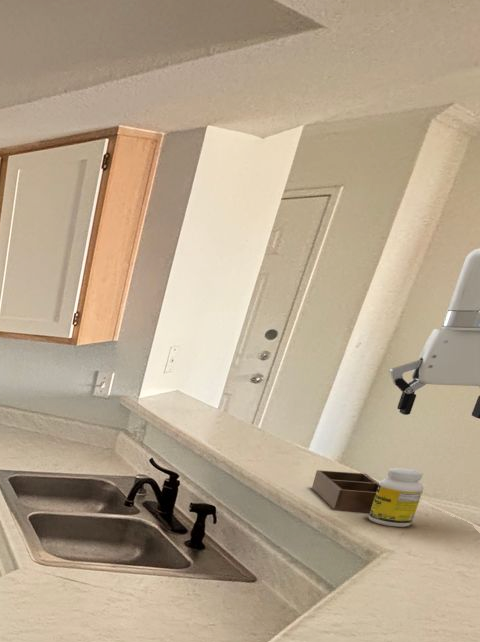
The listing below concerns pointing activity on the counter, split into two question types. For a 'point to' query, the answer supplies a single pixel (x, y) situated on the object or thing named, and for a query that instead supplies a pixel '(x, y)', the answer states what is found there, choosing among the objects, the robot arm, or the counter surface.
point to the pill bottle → (397, 498)
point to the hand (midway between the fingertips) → (439, 415)
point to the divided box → (346, 490)
